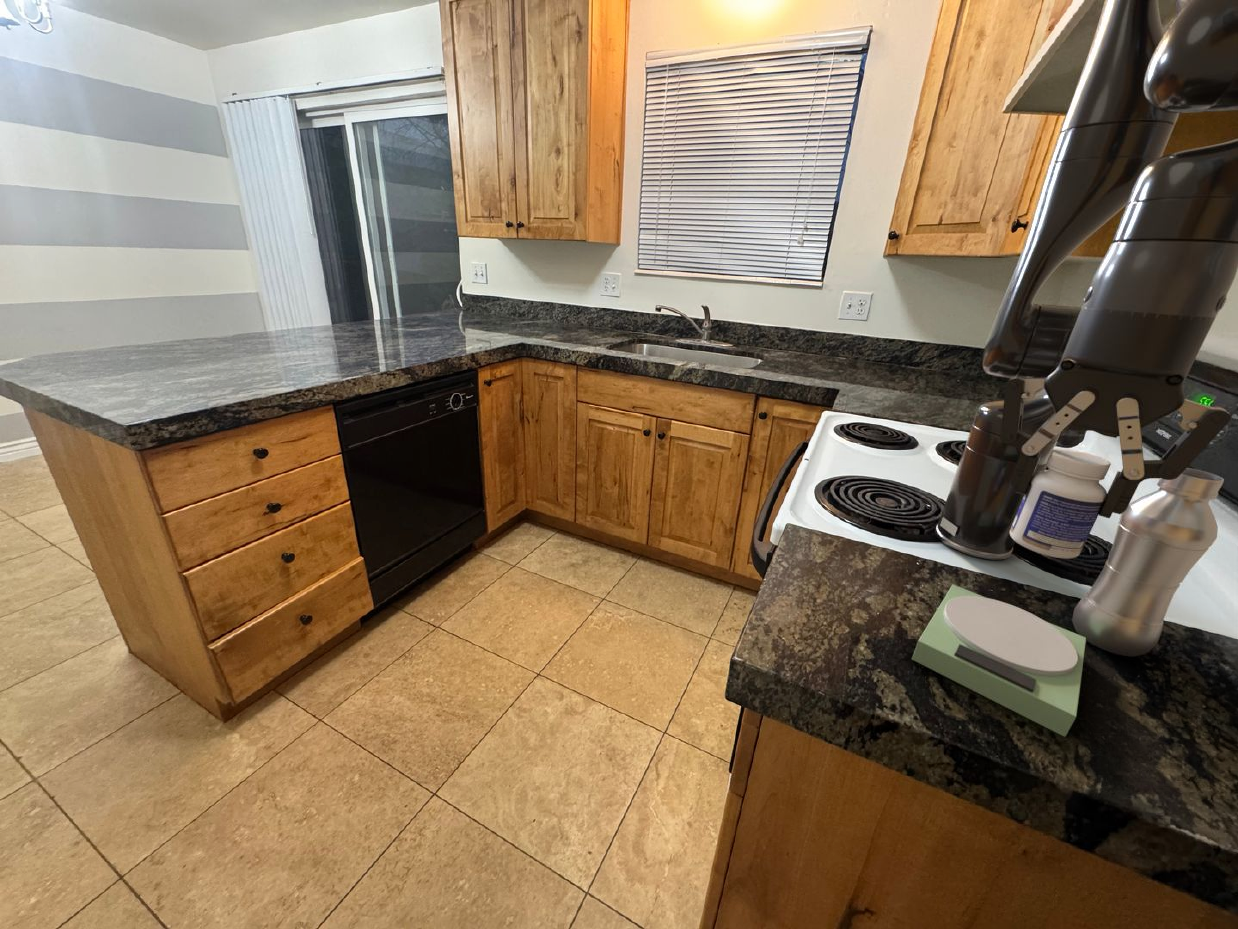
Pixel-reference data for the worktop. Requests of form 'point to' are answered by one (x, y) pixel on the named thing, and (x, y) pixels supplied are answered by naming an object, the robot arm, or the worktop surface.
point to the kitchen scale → (1006, 657)
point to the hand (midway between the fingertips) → (1060, 501)
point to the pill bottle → (1061, 504)
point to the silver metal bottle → (1149, 564)
